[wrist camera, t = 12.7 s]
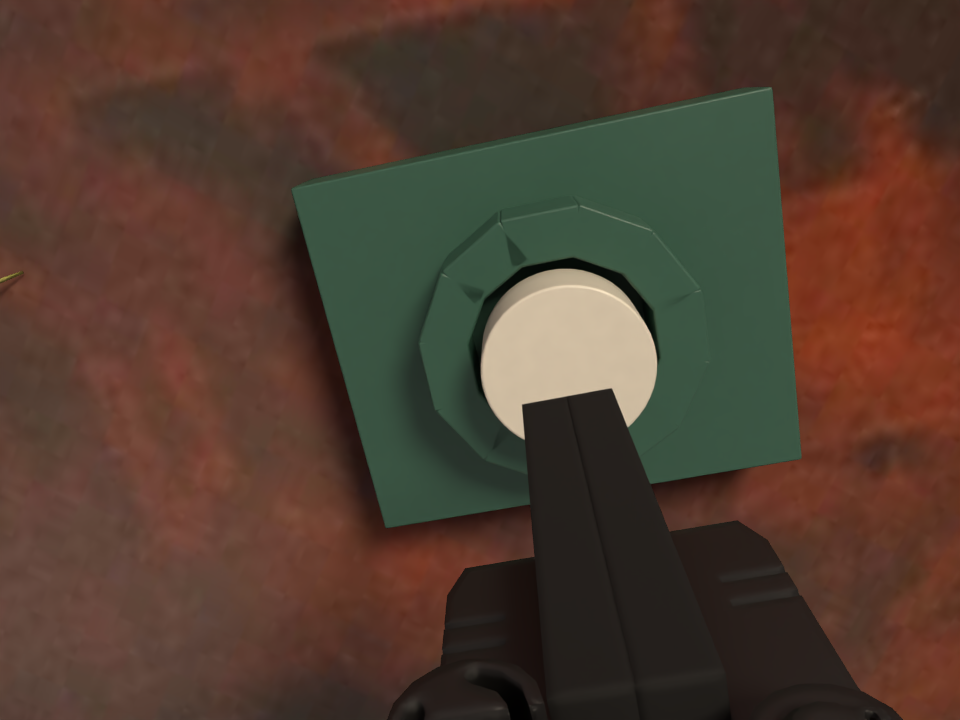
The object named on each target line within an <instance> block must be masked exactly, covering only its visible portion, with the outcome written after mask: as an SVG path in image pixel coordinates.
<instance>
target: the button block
mask: <svg viewBox="0 0 960 720" xmlns="http://www.w3.org/2000/svg"><path fill="white" fill-rule="evenodd" d="M291 192H292V195H293V199H294V203H295V206H296V210H297V213H298V217H299V220H300V224H301V228H302V231H303V235H304V238H305V242H306V245H307V249H308V253H309V256H310V260H311V263H312V267H313V271H314V274H315V278H316V281H317V285H318V288H319V292H320V296H321V299H322V303H323V306H324V310H325V313H326V317H327V321H328V324H329V328H330V331H331V335H332V338H333V342H334V346H335V349H336V353H337V356H338V360H339V364H340V367H341V371H342V374H343V378H344V381H345V385H346V389H347V392H348V396H349V399H350V403H351V406H352V410H353V414H354V417H355V421H356V424H357V428H358V432H359V435H360V439H361V442H362V446H363V449H364V453H365V457H366V460H367V464H368V467H369V471H370V474H371V478H372V482H373V485H374V489H375V492H376V496H377V499H378V503H379V507H380V510H381V514H382V517H383V521H384V525H385V527H386V528H391V527H397V526H403V525H409V524H415V523H421V522H427V521H433V520H439V519H445V518H451V517H457V516H463V515H469V514H475V513H481V512H487V511H493V510H499V509H505V508H511V507H517V506H523V505H529V504H530V496H529V484H528V472H527V460H526V448H525V440H524V439H522V438H520V437H518V436H517V435H515V434H514V433H513V432H511V431H510V430H509V429H508V428H507V427H505V426H504V425H503V424H502V423H501V421H500V420H499V419H498V418H497V417H496V415H495V414H494V412H493V411H492V409H491V408H490V406H489V404H488V401H487V399H486V397H485V394H484V390H483V387H482V381H481V353H482V342H483V334H484V330H485V326H486V323H487V321H488V318H489V316H490V314H491V312H492V310H493V309H494V307H495V305H496V304H497V303H498V301H499V300H500V299H501V297H502V296H503V295H504V294H505V293H506V292H507V291H508V290H509V289H511V288H512V287H513V286H515V285H516V284H517V283H519V282H520V281H522V280H524V279H526V278H528V277H530V276H532V275H535V274H537V273H540V272H544V271H548V270H554V269H577V270H583V271H587V272H591V273H594V274H596V275H599V276H601V277H603V278H605V279H607V280H608V281H610V282H612V283H613V284H614V285H616V286H617V287H618V288H620V289H621V290H622V291H623V292H624V293H625V294H626V296H627V297H628V298H629V299H630V301H631V302H632V303H633V305H634V306H635V308H636V310H637V311H638V313H639V314H640V316H641V318H642V319H643V321H644V322H645V324H646V326H647V328H648V330H649V331H650V333H651V336H652V339H653V342H654V345H655V349H656V354H657V376H656V381H655V385H654V389H653V391H652V394H651V397H650V399H649V401H648V403H647V405H646V407H645V408H644V409H643V411H642V412H641V414H640V415H639V416H638V418H637V419H636V420H635V421H634V422H633V423H632V424H631V425H630V426H629V427H628V430H629V432H630V435H631V437H632V440H633V442H634V445H635V447H636V450H637V452H638V455H639V457H640V460H641V462H642V465H643V467H644V470H645V472H646V475H647V477H648V480H649V482H650V484H655V483H661V482H667V481H673V480H679V479H685V478H691V477H697V476H703V475H709V474H715V473H721V472H727V471H733V470H739V469H745V468H751V467H756V466H762V465H768V464H774V463H780V462H786V461H792V460H798V459H801V445H800V433H799V420H798V407H797V395H796V382H795V369H794V357H793V344H792V331H791V319H790V306H789V293H788V281H787V268H786V255H785V243H784V230H783V217H782V204H781V192H780V179H779V166H778V154H777V141H776V128H775V116H774V103H773V90H772V88H771V87H752V88H740V89H735V90H731V91H726V92H721V93H716V94H712V95H707V96H702V97H698V98H693V99H688V100H683V101H679V102H674V103H669V104H665V105H660V106H655V107H650V108H646V109H641V110H636V111H632V112H627V113H622V114H617V115H613V116H608V117H603V118H598V119H594V120H589V121H584V122H580V123H575V124H570V125H565V126H561V127H556V128H551V129H547V130H542V131H537V132H532V133H528V134H523V135H518V136H514V137H509V138H504V139H499V140H495V141H490V142H485V143H480V144H476V145H471V146H466V147H462V148H457V149H452V150H447V151H443V152H438V153H433V154H429V155H424V156H419V157H414V158H410V159H405V160H400V161H395V162H391V163H386V164H381V165H377V166H372V167H367V168H362V169H358V170H353V171H348V172H344V173H339V174H334V175H329V176H325V177H320V178H315V179H311V180H309V181H307V182H305V183H302V184H300V185H298V186H296V187H293V188H292V189H291Z"/></svg>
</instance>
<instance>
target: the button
mask: <svg viewBox="0 0 960 720" xmlns="http://www.w3.org/2000/svg"><path fill="white" fill-rule="evenodd" d="M656 376H657V354H656V349H655V345H654V342H653V339H652V336H651V333H650V331H649V330H648V328H647V326H646V324H645V322H644V321H643V319H642V318H641V316H640V314H639V313H638V311H637V310H636V308H635V306H634V305H633V303H632V302H631V301H630V299H629V298H628V297H627V296H626V294H625V293H624V292H623V291H622V290H621V289H620V288H618V287H617V286H616V285H614V284H613V283H612V282H610V281H608V280H607V279H605V278H603V277H601V276H599V275H596V274H594V273H591V272H587V271H583V270H577V269H554V270H548V271H544V272H540V273H537V274H535V275H532V276H530V277H528V278H526V279H524V280H522V281H520V282H519V283H517V284H516V285H515V286H513V287H512V288H511V289H509V290H508V291H507V292H506V293H505V294H504V295H503V296H502V297H501V299H500V300H499V301H498V303H497V304H496V305H495V307H494V309H493V310H492V312H491V314H490V316H489V318H488V321H487V323H486V326H485V330H484V334H483V342H482V353H481V381H482V387H483V390H484V394H485V397H486V399H487V401H488V404H489V406H490V408H491V409H492V411H493V412H494V414H495V415H496V417H497V418H498V419H499V420H500V421H501V423H502V424H503V425H504V426H505V427H507V428H508V429H509V430H510V431H511V432H513V433H514V434H515V435H517V436H518V437H520V438H522V439H524V440H525V437H524V425H523V413H522V404H527V403H532V402H538V401H543V400H549V399H554V398H560V397H565V396H571V395H576V394H582V393H587V392H593V391H598V390H604V389H609V388H612V389H613V392H614V394H615V397H616V399H617V402H618V404H619V407H620V409H621V412H622V415H623V417H624V420H625V422H626V425H627V427H629V426H630V425H631V424H632V423H633V422H634V421H635V420H636V419H637V418H638V416H639V415H640V414H641V412H642V411H643V409H644V408H645V407H646V405H647V403H648V401H649V399H650V397H651V394H652V391H653V389H654V385H655V381H656Z"/></svg>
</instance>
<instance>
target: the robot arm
mask: <svg viewBox="0 0 960 720" xmlns="http://www.w3.org/2000/svg"><path fill="white" fill-rule="evenodd" d="M522 413H523V425H524V437H525V448H526V460H527V472H528V484H529V496H530V508H531V519H532V531H533V543H534V555H535V557H531V558H525V559H519V560H513V561H507V562H501V563H495V564H489V565H483V566H477V567H471V568H465V570H464V571H463V573H462V574H461V576H460V577H459V579H458V580H457V582H456V583H455V585H454V586H453V588H452V589H451V591H450V592H449V594H448V595H447V604H446V615H445V630H444V635H443V646H442V650H443V655H442V656H441V666H440V667H437V668H436V669H434V670H432V671H431V672H429V673H427V674H426V675H424V676H422V677H421V678H419V679H418V680H416V681H414V682H413V683H412V684H411V685H410V686H409V687H408V688H407V689H406V690H405V691H404V693H403V694H402V695H401V696H400V697H399V698H398V699H397V700H396V701H395V702H394V704H393V706H392V709H391V711H390V714H389V716H388V719H387V720H903V719H902V718H901V717H900V716H899V715H898V714H897V713H896V712H895V711H894V710H893V709H892V708H891V707H889V706H887V705H886V704H884V703H882V702H880V701H878V700H877V699H875V698H873V697H871V696H869V695H868V694H866V693H864V692H862V691H861V690H860V689H859V688H858V687H857V685H856V684H855V682H854V680H853V679H852V677H851V675H850V674H849V672H848V671H847V669H846V667H845V666H844V664H843V662H842V661H841V659H840V658H839V656H838V654H837V653H836V651H835V649H834V648H833V646H832V644H831V643H830V641H829V640H828V638H827V636H826V635H825V633H824V631H823V630H822V628H821V627H820V625H819V623H818V622H817V620H816V618H815V617H814V615H813V613H812V612H811V610H810V609H809V607H808V605H807V604H806V602H805V600H804V599H803V597H802V596H800V595H799V593H798V589H797V587H796V586H795V584H794V582H793V581H792V579H791V578H790V576H789V574H788V573H787V572H785V570H784V566H783V565H782V563H781V561H780V560H779V558H778V556H777V555H776V553H775V551H774V550H773V548H772V547H771V545H770V543H769V542H768V540H767V539H765V538H763V537H762V536H760V535H759V534H757V533H756V532H754V531H753V530H751V529H750V528H748V527H747V526H745V525H743V524H742V523H740V522H739V521H731V522H725V523H719V524H713V525H707V526H701V527H695V528H689V529H683V530H677V531H671V532H669V530H668V527H667V525H666V522H665V520H664V517H663V515H662V512H661V510H660V507H659V505H658V502H657V500H656V497H655V495H654V492H653V490H652V487H651V485H650V482H649V480H648V477H647V475H646V472H645V470H644V467H643V465H642V462H641V460H640V457H639V455H638V452H637V450H636V447H635V445H634V442H633V440H632V437H631V435H630V432H629V430H628V427H627V425H626V422H625V420H624V417H623V415H622V412H621V409H620V407H619V404H618V402H617V399H616V397H615V394H614V392H613V389H612V388H609V389H604V390H598V391H593V392H587V393H582V394H576V395H571V396H565V397H560V398H554V399H549V400H543V401H538V402H532V403H527V404H522Z"/></svg>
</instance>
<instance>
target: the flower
mask: <svg viewBox="0 0 960 720" xmlns="http://www.w3.org/2000/svg"><path fill="white" fill-rule="evenodd" d="M21 274H23V272H22V271H21V272H18V273H15V274H12V275H10V276H7V277H4V278H1V279H0V283H2V282H4V281H7V280H9V279H12V278H14V277H16V276H19V275H21Z"/></svg>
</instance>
